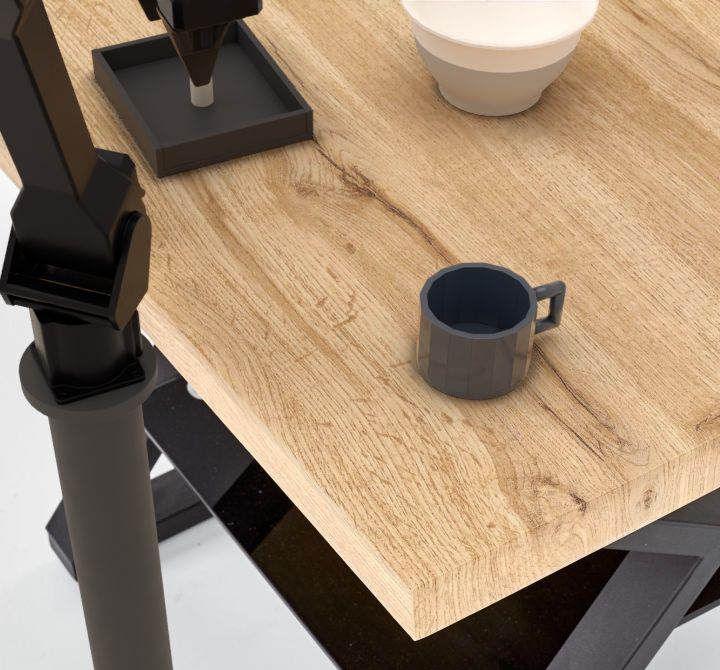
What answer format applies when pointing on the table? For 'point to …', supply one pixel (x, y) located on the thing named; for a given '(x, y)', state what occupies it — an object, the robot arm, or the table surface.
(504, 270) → the mug
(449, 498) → the table surface
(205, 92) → the marker
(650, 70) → the table surface
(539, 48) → the bowl
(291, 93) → the tray
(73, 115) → the robot arm
